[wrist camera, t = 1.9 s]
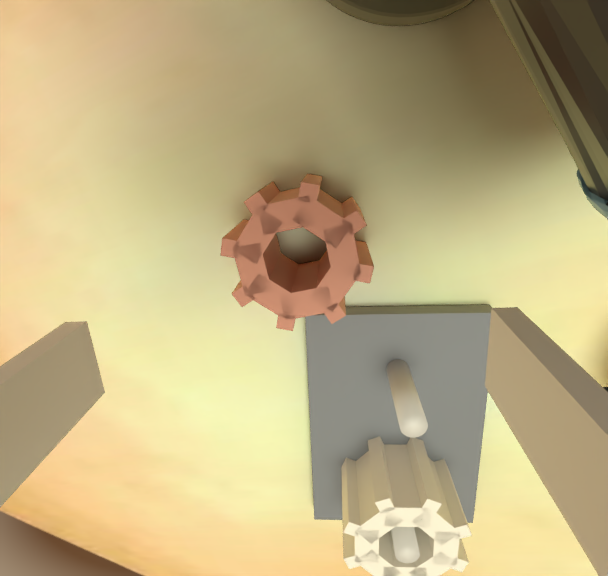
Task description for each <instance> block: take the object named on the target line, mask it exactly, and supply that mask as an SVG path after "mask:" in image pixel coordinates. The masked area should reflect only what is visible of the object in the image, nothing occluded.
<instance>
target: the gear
mask: <svg viewBox="0 0 608 576" xmlns="http://www.w3.org/2000/svg"><path fill="white" fill-rule="evenodd" d="M321 181H322V176H318V175H312V174H307V175H306V176H305V177H304V179H303V180H302V181H301V185H300V187H299V188H295V189H290V190H286V191H281V192H280V191H279V189H278V188H277V186H276V185H275V183H274V182H271V183H270V184H268V185H267V186H265V187H264V188H262V189H261V190H259V191H258V192H257V193H255V194H254V195H253V196H251V197H250V198H248V199H247V200H246V201H244V204H245V205H246V206H247V208H248V209H249V211H250V212H251V213H252V216H251V218H250V220H242V221H241V222H240V223H239V224H238V225H237V226H236V227H234V228H233V229H232V230H231V231H230V232H229V233H228V234H227V235H225V236H224V237H223V238H222V246H221V255H222V256H227V257H232V258H235V260H236V264H237V268H238V271H239V275H240V278H241V280H240V282H239V283H238V285H237V286H236V288H235V289H234V291H233V292H232V295H233V296H234V297H235V299H236V300H237V301H238V303H239V304H240V305H241V306H242V307H243V306H244V305H246V304H248V303H249V302H251V301H252V300H254V301H256V302H257V303H259V304H261V305H262V306H264V307H266V308H267V309H269V310H270V311H272V312H274V313H275V314H277V315H278V321H277V327H276V328H280V329H285V330H290V331H293V328H294V323H295V318H300V317H306V316H312V315H317V314H323V313H324V314H325V315H326V317H327V318H328V320H329V321H330V322H331V324H333V323H335V322H336V321H338V320H339V319H341V318H343V317H344V316H346V308H345V295H346V293H347V292H348V291H349V289H350V288H351V286H352V285H353V284H354V282H355V281H360V282H365V283H370V281H371V277H372V273H373V269H374V265H373V262H372V259H371V256H370V253H369V250H368V247H367V244H366V242H362V241H356V240H355V237H354V234H355V233H356V232H358V231H359V230H361V229H362V228H364V227H365V226H367V225H366V222H365V220H364V217H363V215H362V212H361V210H360V208H359V206H358V205H357V203H356V202H355V200H354V199H353V197H350V198H349V199H347V200H346V201H344V202H343V203H340V202H339V201H337V200H336V199H334V198H333V197H331V196H330V195H328V194H327V193H325V192H324V191H322V190H321V189H320V186H321ZM301 227H303V228H305V229H306V230H308V231H310V232H311V233H313V234H314V235H316V236H317V237H319V238H320V239H322V240H323V241H325V242H326V247H327V250H326V251H325V253H324V254H323V256H322V257H321V259H320V260H319V261H313V262H308V263H303V264H297V263H296V262H294V261H293V260H291V259H289V258H288V257H286V256H285V255H283V254H282V253H281V251H280V247H279V243H278V239H277V235H276V233H277V232H281V231H286V230H291V229H296V228H301Z"/></svg>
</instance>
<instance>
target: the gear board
mask: <svg viewBox="0 0 608 576" xmlns="http://www.w3.org/2000/svg"><path fill="white" fill-rule="evenodd" d="M345 308H346V316H344V317H343V318H341V319H339V320H338V321H336V322H335V323H333V324H331V322H330V321H329V320H328V318H327V317H326V315H325V314H324V313H323V314H317V315H312V316H306V317H305V319H306V341H307V363H308V386H309V408H310V430H311V453H312V475H313V498H314V519H324V520H343V556H344V560H345V562H346V564H347V566H348V567H349V569H351V568H354V567H358V566H361V567H363V568H364V569H365V570H367V571H368V572H369V573H371V574H372V575H373V576H440V575H441V574H443V573H444V572H446V571H448V570H449V569H454V570H457V571H460V572H462V571H463V570H464V568H465V567H466V566H467V564H468V563H469V561H468V558H467V555H466V552H465V549H464V546H463V543H462V540H461V538H465V537H468V536H472V535H471V532H470V529H469V526H468V523H473V516H474V507H475V499H476V490H477V481H478V472H479V463H480V454H481V446H482V437H483V428H484V419H485V410H486V402H487V393H488V390H487V389H486V387H485V378H486V366H487V354H488V343H489V331H490V319H491V308H492V307H491V306H490V305H433V306H370V307H345Z"/></svg>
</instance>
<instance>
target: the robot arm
mask: <svg viewBox="0 0 608 576" xmlns="http://www.w3.org/2000/svg"><path fill="white" fill-rule="evenodd" d="M327 1H328V2H329V3H331V4H332V5H333V6H335V7H336V8H338V9H339V10H341V11H343V12H345V13H347V14H349V15H351V16H353V17H356V18H358V19H361V20H364V21H367V22H371V23H375V24H381V25H390V26H407V25H416V24H421V23H426V22H430V21H433V20H436V19H439V18H442V17H445V16H447V15H449V14H451V13H454V12H456V11H457V10H459V9H461V8H463V7H465V6H466V5H468V4H469V3H471V2H472V1H474V0H327ZM489 1H490V3H491V5H492V6H493V8H494V10H495V12H496V14H497V16H498V18H499V20H500V21H501V23H502V25H503V27H504V29H505V31H506V33H507V34H508V36H509V38H510V40H511V42H512V44H513V46H514V48H515V49H516V51H517V53H518V55H519V57H520V59H521V61H522V63H523V64H524V66H525V68H526V70H527V72H528V74H529V76H530V77H531V79H532V81H533V83H534V85H535V87H536V89H537V91H538V92H539V94H540V96H541V98H542V100H543V102H544V104H545V105H546V107H547V109H548V111H549V113H550V115H551V117H552V119H553V120H554V122H555V124H556V126H557V128H558V130H559V132H560V133H561V135H562V137H563V139H564V141H565V143H566V145H567V147H568V149H569V151H570V153H571V155H572V157H573V159H574V161H575V163H576V165H577V167H578V170H577V177H578V180H579V184H580V186H581V188H582V189H583V191H584V193H585V195H586V196H587V200H588V201H589V202H590V203H591V204H592V205H593V207H594V208H595V209H596V210H597V211H599V212H600V213H601V214H602V215H603V216H605V217H606V218H607V219H608V0H489ZM485 387H486V389H487V390H488V392H489V394H490V395H491V397H492V399H493V400H494V402H495V404H496V405H497V407H498V409H499V410H500V412H501V414H502V415H503V417H504V419H505V420H506V422H507V424H508V425H509V427H510V429H511V430H512V432H513V434H514V435H515V437H516V439H517V440H518V442H519V444H520V445H521V447H522V449H523V450H524V452H525V454H526V455H527V457H528V459H529V460H530V462H531V464H532V465H533V467H534V469H535V470H536V472H537V474H538V475H539V477H540V479H541V480H542V482H543V484H544V485H545V487H546V489H547V490H548V492H549V494H550V495H551V497H552V498H553V500H554V502H555V503H556V505H557V507H558V508H559V510H560V512H561V513H562V515H563V517H564V518H565V520H566V522H567V523H568V525H569V527H570V528H571V530H572V532H573V533H574V535H575V537H576V538H577V540H578V542H579V543H580V545H581V547H582V548H583V550H584V552H585V553H586V555H587V557H588V558H589V560H590V562H591V563H592V565H593V567H594V568H595V570H596V572H597V573H598V575H599V576H608V387H602V386H601V385H600V384H599V383H598V382H597V381H596V380H594V379H593V378H592V377H591V376H590V375H589V374H588V373H587V372H586V371H585V370H584V369H583V368H582V367H581V366H579V365H578V364H577V363H576V362H575V361H574V360H573V359H572V358H571V357H570V356H569V355H568V354H567V353H566V352H565V351H563V350H562V349H561V348H560V347H559V346H558V345H557V344H556V343H555V342H554V341H553V340H552V339H551V338H550V337H548V336H547V335H546V334H545V333H544V332H543V331H542V330H541V329H540V328H539V327H538V326H537V325H536V324H535V323H533V322H532V321H531V320H530V319H529V318H528V317H527V316H526V315H525V314H524V313H523V312H522V311H521V310H520V309H518V308H517V307H514V308H491V319H490V331H489V343H488V354H487V366H486V378H485ZM104 393H105V391H104V387H103V383H102V379H101V375H100V371H99V368H98V364H97V360H96V356H95V352H94V348H93V344H92V340H91V336H90V332H89V328H88V324H87V321H86V322H65V323H63V324H62V325H60V326H59V327H57V328H56V329H54V330H53V331H52V332H50V333H49V334H47V335H46V336H44V337H43V338H41V339H40V340H38V341H37V342H35V343H34V344H32V345H31V346H29V347H28V348H27V349H25V350H24V351H22V352H21V353H19V354H18V355H16V356H15V357H13V358H12V359H10V360H9V361H7V362H6V363H4V364H3V365H2V366H0V507H1V506H2V505H3V504H4V503H5V502H6V500H7V499H8V498H9V497H10V496H11V495H12V494H13V493H14V492H15V491H16V489H17V488H18V487H19V486H20V485H21V484H22V483H23V482H24V481H25V480H26V478H27V477H28V476H29V475H30V474H31V473H32V472H33V471H34V470H35V469H36V467H37V466H38V465H39V464H40V463H41V462H42V461H43V460H44V459H45V458H46V456H47V455H48V454H49V453H50V452H51V451H52V450H53V449H54V448H55V447H56V445H57V444H58V443H59V442H60V441H61V440H62V439H63V438H64V437H65V436H66V434H67V433H68V432H69V431H70V430H71V429H72V428H73V427H74V426H75V425H76V423H77V422H78V421H79V420H80V419H81V418H82V417H83V416H84V415H85V414H86V412H87V411H88V410H89V409H90V408H91V407H92V406H93V405H94V404H95V403H96V401H97V400H98V399H99V398H100V397H101V396H102V395H103V394H104Z"/></svg>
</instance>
